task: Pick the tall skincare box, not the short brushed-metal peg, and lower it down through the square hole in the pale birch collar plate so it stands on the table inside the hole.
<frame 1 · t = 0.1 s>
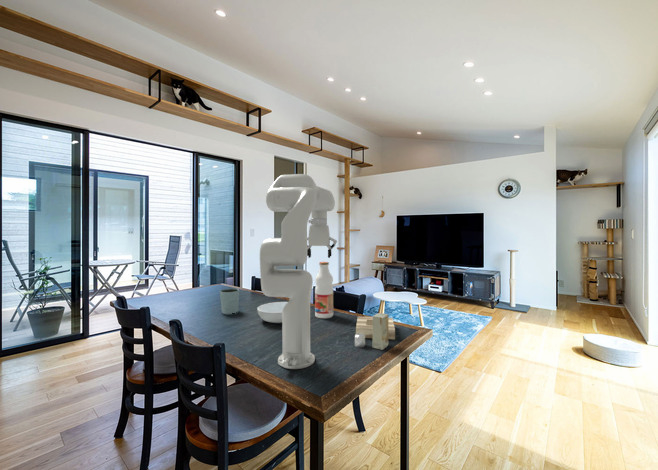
hand: (319, 257, 147), 31 cm above the table, tool pointing down, fingers open, 9 cm apart
fruit juice: (324, 316, 156), on the table
grey cup: (229, 312, 163), on the table
collar plate: (375, 331, 132), on the table
serving bowl: (279, 320, 149), on the table
short metal peg: (359, 345, 117), on the table
skincare box: (380, 346, 116), on the table
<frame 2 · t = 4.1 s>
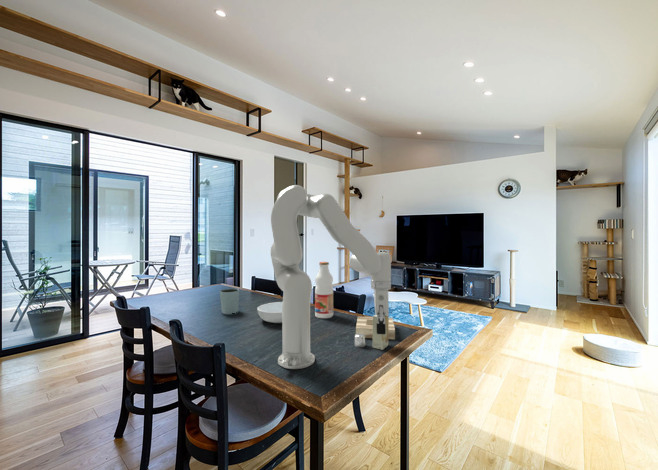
hand: (380, 329, 116), 6 cm above the table, tool pointing down, fingers closed on skincare box, 7 cm apart
skincare box: (380, 346, 116), on the table, touching gripper
everything else where it was.
when the fingers open (8 cm above the table, at t = 10.1 s): skincare box drops 1 cm, resting in collar plate.
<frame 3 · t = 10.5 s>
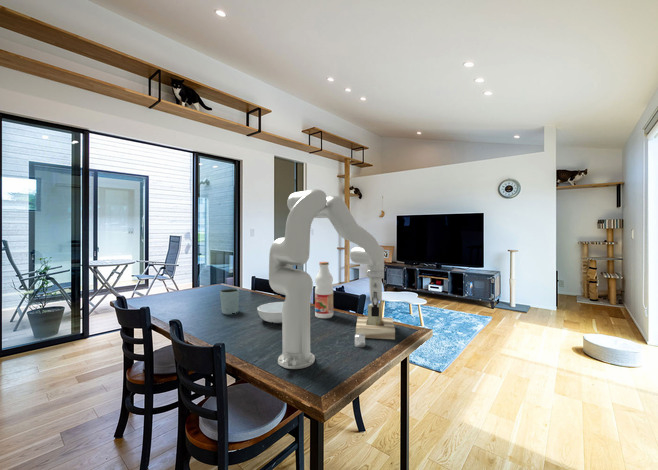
hand: (375, 312, 132), 8 cm above the table, tool pointing down, fingers open, 9 cm apart
skincare box: (374, 332, 132), resting in collar plate
everything else where it was.
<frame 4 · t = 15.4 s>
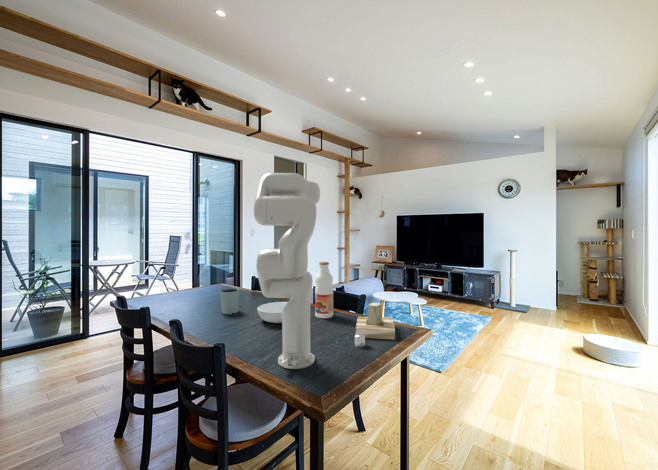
hand: (299, 257, 128), 33 cm above the table, tool pointing down, fingers open, 9 cm apart
nothing on the table moved.
at the end: skincare box 0.2 cm off-centre on the collar plate, point 0.0 cm above the collar plate's base; skincare box tilted 0°; short metal peg moved 0.1 cm from its start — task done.
